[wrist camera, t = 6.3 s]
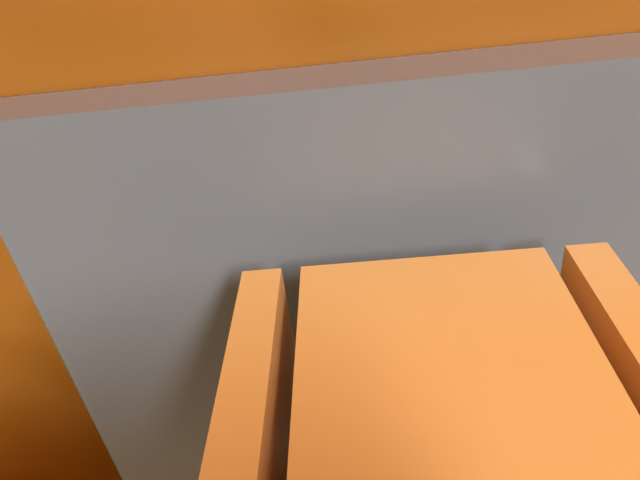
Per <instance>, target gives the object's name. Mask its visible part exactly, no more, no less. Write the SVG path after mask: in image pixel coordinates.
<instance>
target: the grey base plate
mask: <svg viewBox="0 0 640 480" xmlns="http://www.w3.org/2000/svg"><path fill="white" fill-rule="evenodd" d="M0 235H1V237H2V239H3V241H4V243H5V245H6V247H7V249H8V251H9V253H10V255H11V257H12V259H13V261H14V263H15V265H16V267H17V269H18V271H19V273H20V275H21V277H22V279H23V281H24V283H25V285H26V287H27V289H28V291H29V293H30V295H31V297H32V299H33V301H34V303H35V305H36V307H37V310H38V312H39V314H40V316H41V318H42V320H43V322H44V324H45V326H46V328H47V330H48V332H49V334H50V336H51V338H52V340H53V342H54V344H55V346H56V348H57V350H58V352H59V354H60V356H61V358H62V360H63V362H64V364H65V366H66V368H67V370H68V372H69V374H70V376H71V378H72V380H73V382H74V384H75V386H76V388H77V390H78V392H79V394H80V396H81V398H82V400H83V402H84V404H85V406H86V408H87V410H88V412H89V414H90V416H91V418H92V420H93V422H94V424H95V426H96V428H97V430H98V432H99V434H100V436H101V438H102V440H103V442H104V444H105V446H106V448H107V450H108V452H109V454H110V456H111V458H112V460H113V462H114V464H115V466H116V468H117V470H118V472H119V474H120V476H121V478H122V480H198V478H199V474H200V469H201V464H202V460H203V455H204V450H205V445H206V441H207V436H208V431H209V426H210V422H211V417H212V412H213V407H214V403H215V398H216V393H217V389H218V384H219V379H220V374H221V370H222V365H223V360H224V355H225V351H226V346H227V341H228V336H229V332H230V327H231V322H232V317H233V313H234V308H235V303H236V298H237V294H238V289H239V284H240V280H241V275H242V271H252V270H264V269H277V268H281V270H282V275H283V281H284V286H285V292H286V298H287V303H288V309H289V314H290V320H291V325H292V331H293V337H294V342H295V347H296V332H297V317H298V302H299V287H300V272H301V267H302V266H315V265H327V264H340V263H352V262H365V261H377V260H390V259H402V258H415V257H427V256H440V255H452V254H465V253H477V252H490V251H502V250H515V249H528V248H540V247H544V248H545V250H546V252H547V253H548V255H549V257H550V259H551V260H552V262H553V264H554V266H555V267H556V269H557V271H558V273H559V274H560V273H561V267H562V261H563V255H564V248H565V245H578V244H590V243H603V242H607V243H608V244H609V245H610V247H611V248H612V249H613V251H614V252H615V253H616V255H617V256H618V257H619V259H620V260H621V262H622V263H623V264H624V266H625V267H626V268H627V270H628V271H629V272H630V274H631V275H632V276H633V278H634V279H635V280H636V282H637V283H638V284H639V286H640V32H634V33H624V34H615V35H605V36H595V37H586V38H576V39H566V40H556V41H547V42H537V43H527V44H517V45H508V46H498V47H488V48H478V49H469V50H459V51H449V52H439V53H430V54H420V55H410V56H400V57H391V58H381V59H371V60H361V61H352V62H342V63H332V64H322V65H313V66H303V67H293V68H283V69H274V70H264V71H254V72H244V73H235V74H225V75H215V76H206V77H196V78H186V79H176V80H167V81H157V82H147V83H137V84H128V85H118V86H108V87H98V88H89V89H79V90H69V91H59V92H50V93H40V94H30V95H20V96H11V97H1V98H0Z"/></svg>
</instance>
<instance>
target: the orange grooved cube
mask: <svg viewBox="0 0 640 480" xmlns="http://www.w3.org/2000/svg"><path fill="white" fill-rule="evenodd" d="M198 480H640V286H639V284H638V283H637V282H636V280H635V279H634V278H633V276H632V275H631V274H630V272H629V271H628V270H627V268H626V267H625V266H624V264H623V263H622V262H621V260H620V259H619V257H618V256H617V255H616V253H615V252H614V251H613V249H612V248H611V247H610V245H609V244H608V243H607V242H603V243H590V244H578V245H565V248H564V255H563V261H562V267H561V273H560V274H559V273H558V271H557V269H556V267H555V266H554V264H553V262H552V260H551V259H550V257H549V255H548V253H547V252H546V250H545V248H544V247H540V248H528V249H515V250H502V251H490V252H477V253H465V254H452V255H440V256H427V257H415V258H402V259H390V260H377V261H365V262H352V263H340V264H327V265H315V266H302V267H301V272H300V287H299V302H298V317H297V332H296V347H295V342H294V337H293V331H292V325H291V320H290V314H289V309H288V303H287V298H286V292H285V286H284V281H283V275H282V270H281V268H277V269H264V270H252V271H242V275H241V280H240V284H239V289H238V294H237V298H236V303H235V308H234V313H233V317H232V322H231V327H230V332H229V336H228V341H227V346H226V351H225V355H224V360H223V365H222V370H221V374H220V379H219V384H218V389H217V393H216V398H215V403H214V407H213V412H212V417H211V422H210V426H209V431H208V436H207V441H206V445H205V450H204V455H203V460H202V464H201V469H200V474H199V479H198Z"/></svg>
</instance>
